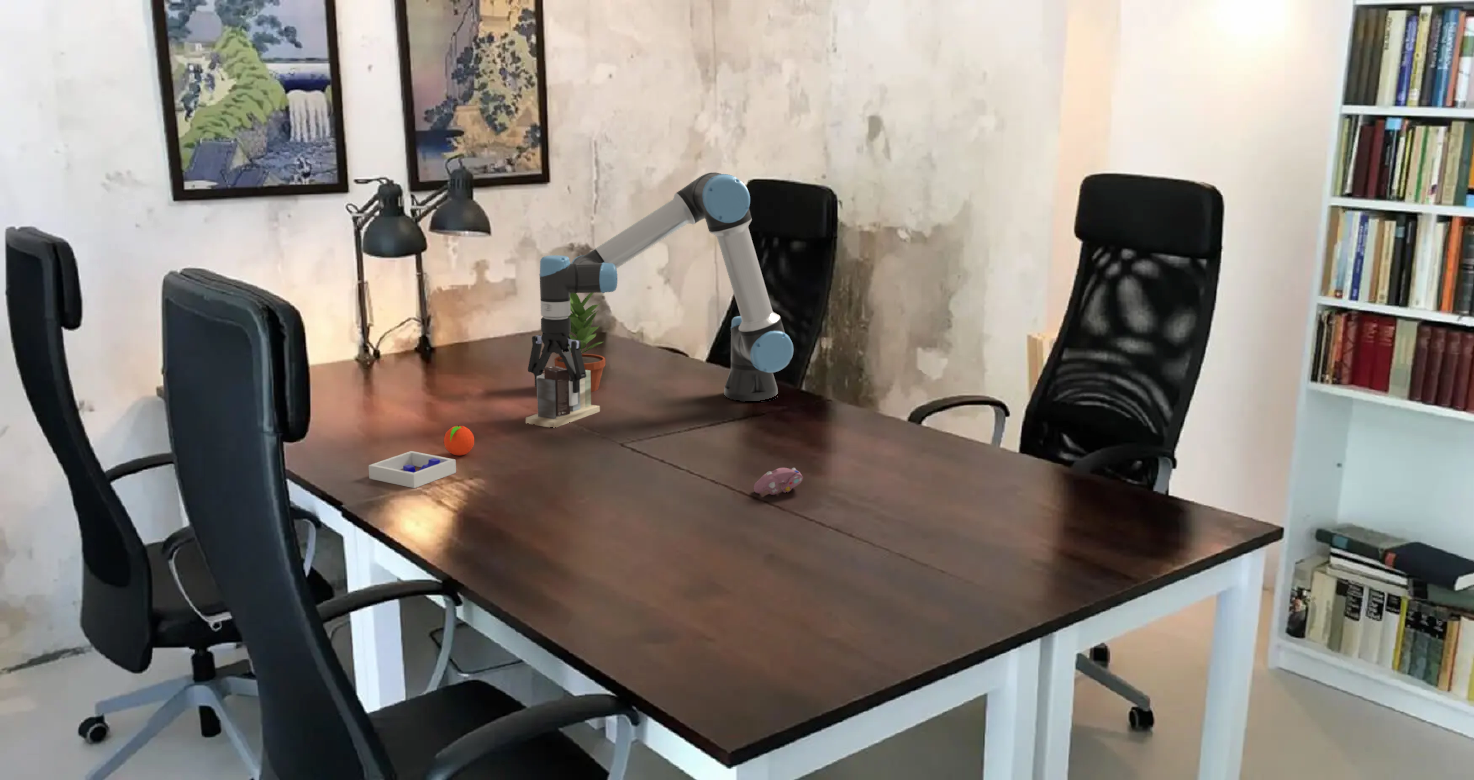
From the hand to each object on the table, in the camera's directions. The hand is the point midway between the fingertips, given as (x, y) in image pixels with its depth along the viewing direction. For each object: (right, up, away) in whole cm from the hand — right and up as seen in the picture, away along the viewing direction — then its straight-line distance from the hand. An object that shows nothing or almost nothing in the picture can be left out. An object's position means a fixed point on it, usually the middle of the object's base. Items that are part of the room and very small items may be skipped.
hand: (557, 402), depth 310 cm
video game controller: (+55, -19, -55) cm, 80 cm away
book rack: (+1, -4, +3) cm, 5 cm away
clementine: (-18, -12, -32) cm, 39 cm away
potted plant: (+1, +3, +35) cm, 35 cm away
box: (0, -3, +1) cm, 3 cm away
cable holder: (-22, -17, -50) cm, 57 cm away
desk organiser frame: (-24, -16, -48) cm, 56 cm away
